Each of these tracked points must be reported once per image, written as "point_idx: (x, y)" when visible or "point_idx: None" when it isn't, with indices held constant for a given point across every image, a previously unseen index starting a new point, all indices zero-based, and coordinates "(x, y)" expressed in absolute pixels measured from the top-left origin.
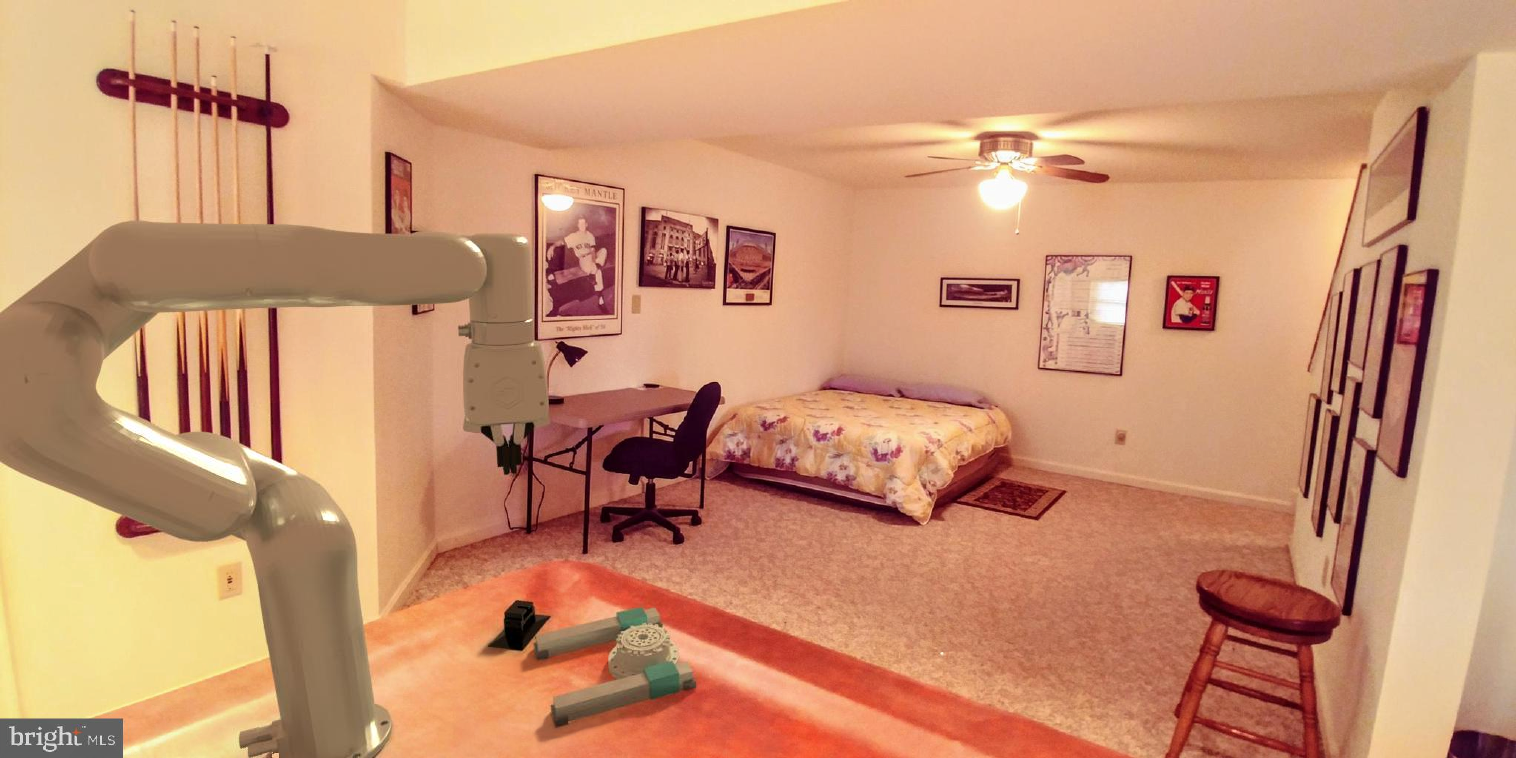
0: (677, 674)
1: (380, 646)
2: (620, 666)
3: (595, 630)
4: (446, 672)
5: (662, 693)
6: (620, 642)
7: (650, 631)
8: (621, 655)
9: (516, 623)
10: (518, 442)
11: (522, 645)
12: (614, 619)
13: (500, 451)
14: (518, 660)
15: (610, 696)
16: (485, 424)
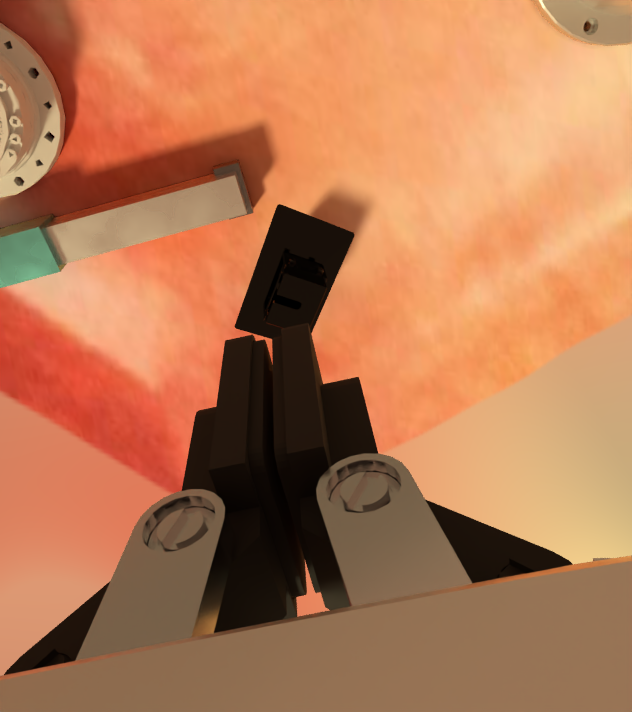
0: None
1: (565, 265)
2: (19, 70)
3: (103, 212)
4: (428, 150)
5: None
6: (10, 113)
7: None
8: (3, 70)
9: (296, 265)
10: (188, 512)
11: (279, 222)
12: (64, 252)
13: (347, 447)
14: (280, 169)
15: None
16: (597, 563)
